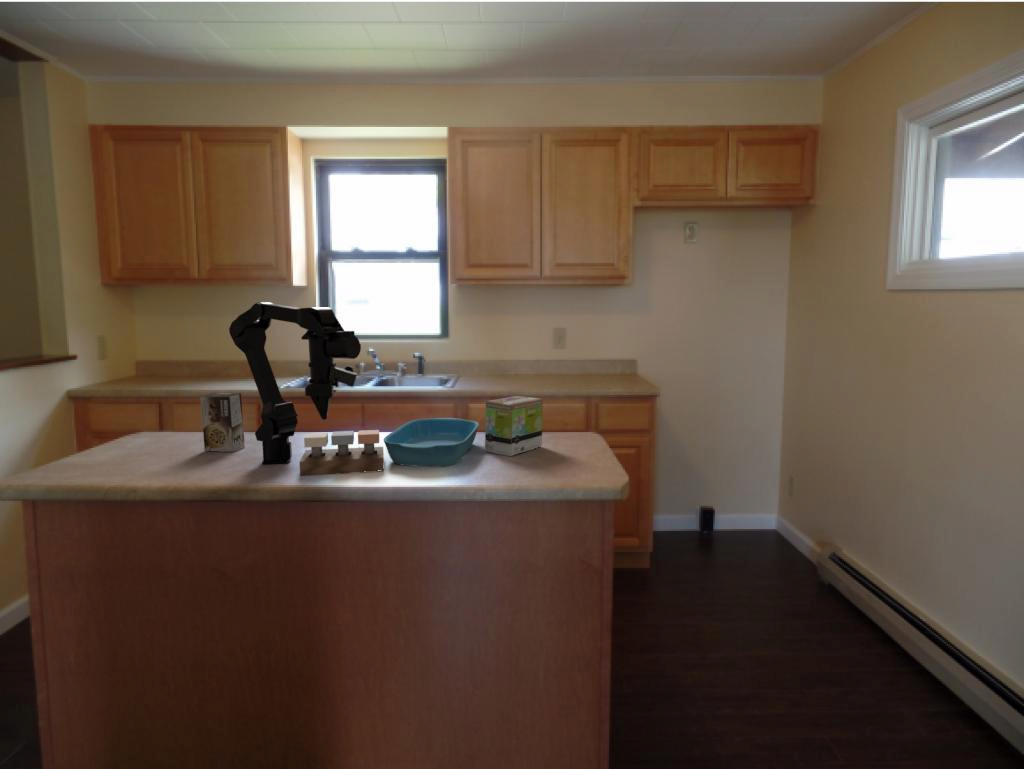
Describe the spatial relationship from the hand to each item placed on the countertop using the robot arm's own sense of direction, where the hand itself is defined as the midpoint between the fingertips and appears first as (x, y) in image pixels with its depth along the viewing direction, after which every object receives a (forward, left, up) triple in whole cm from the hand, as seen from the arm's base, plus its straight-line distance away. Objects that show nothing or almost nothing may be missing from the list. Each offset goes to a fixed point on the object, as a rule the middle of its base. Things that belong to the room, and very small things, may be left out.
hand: (324, 419), depth 155 cm
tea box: (+51, +10, -13) cm, 54 cm away
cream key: (-2, 0, -10) cm, 10 cm away
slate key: (+4, 0, -10) cm, 11 cm away
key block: (+4, 0, -13) cm, 13 cm away
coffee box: (-31, +27, -13) cm, 43 cm away
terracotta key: (+11, 0, -10) cm, 15 cm away
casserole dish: (+28, +10, -13) cm, 33 cm away
